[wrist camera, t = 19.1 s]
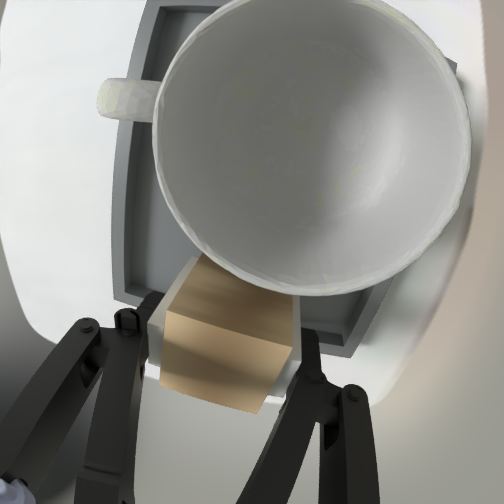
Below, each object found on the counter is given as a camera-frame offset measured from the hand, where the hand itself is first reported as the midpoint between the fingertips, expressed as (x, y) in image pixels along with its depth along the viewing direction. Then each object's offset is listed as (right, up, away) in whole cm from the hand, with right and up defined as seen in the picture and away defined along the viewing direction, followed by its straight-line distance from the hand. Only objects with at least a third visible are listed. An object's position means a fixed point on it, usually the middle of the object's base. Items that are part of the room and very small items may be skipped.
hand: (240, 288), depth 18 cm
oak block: (0, 0, 0) cm, 0 cm away
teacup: (+2, +9, -3) cm, 10 cm away
